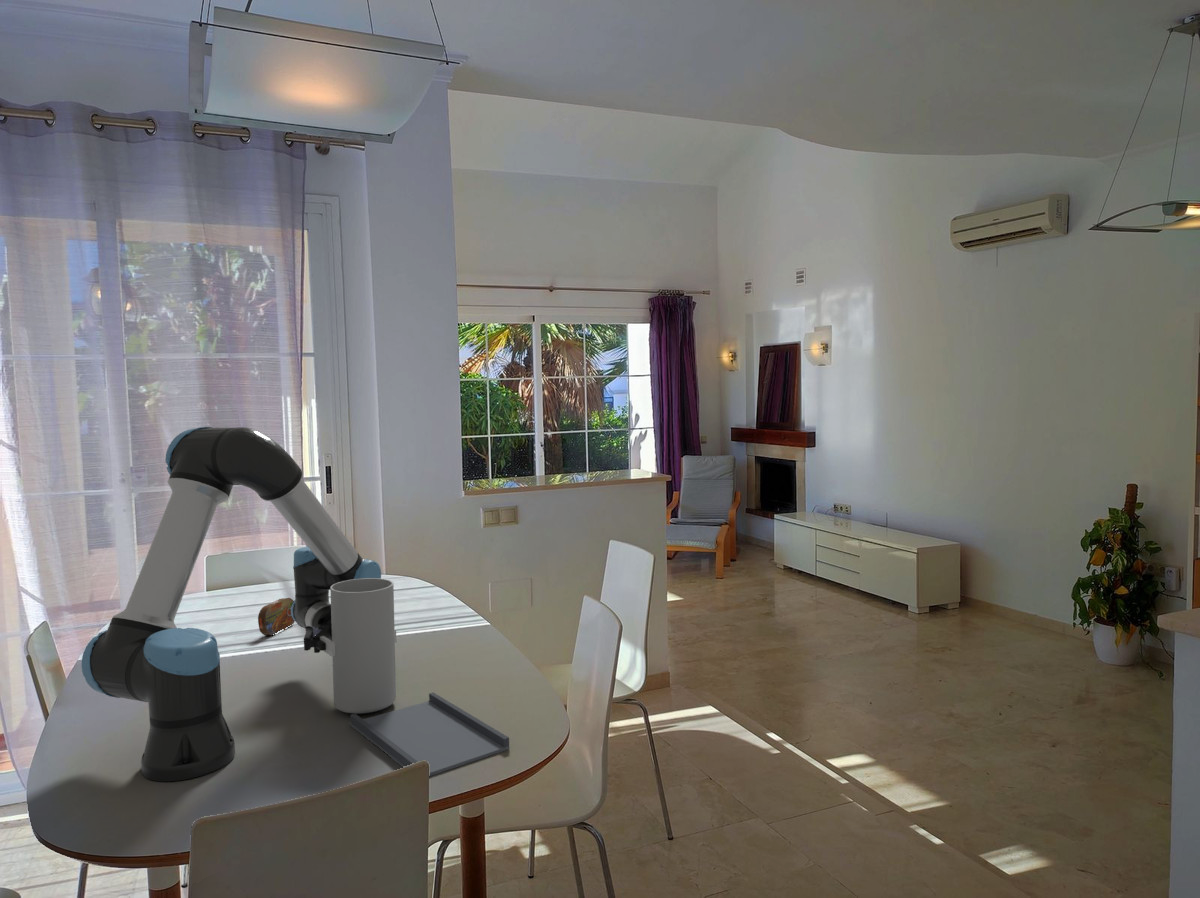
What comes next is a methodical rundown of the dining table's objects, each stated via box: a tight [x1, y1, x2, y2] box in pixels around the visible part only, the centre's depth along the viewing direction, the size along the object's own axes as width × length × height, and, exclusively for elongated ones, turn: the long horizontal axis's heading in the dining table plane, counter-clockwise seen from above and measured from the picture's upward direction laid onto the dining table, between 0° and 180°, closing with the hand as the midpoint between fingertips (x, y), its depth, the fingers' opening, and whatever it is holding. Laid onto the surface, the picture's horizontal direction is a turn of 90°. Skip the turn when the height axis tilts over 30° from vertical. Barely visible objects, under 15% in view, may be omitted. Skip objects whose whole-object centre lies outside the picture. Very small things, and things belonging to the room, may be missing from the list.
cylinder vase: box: [329, 578, 397, 715], centre depth 173 cm, size 12×12×25 cm
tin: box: [257, 597, 296, 636], centre depth 231 cm, size 15×3×8 cm, turn 168°
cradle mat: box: [349, 691, 510, 777], centre depth 158 cm, size 30×18×2 cm, turn 38°
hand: (365, 643), depth 172 cm, fingers closed on cylinder vase, 12 cm apart
